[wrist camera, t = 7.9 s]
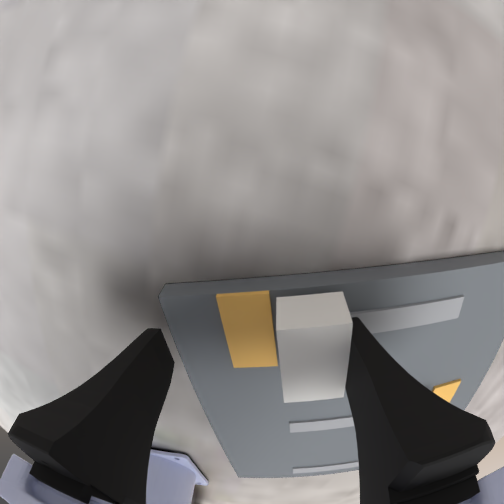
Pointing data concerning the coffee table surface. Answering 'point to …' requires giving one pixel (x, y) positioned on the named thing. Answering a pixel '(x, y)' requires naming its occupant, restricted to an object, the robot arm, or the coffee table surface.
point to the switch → (313, 345)
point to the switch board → (338, 409)
